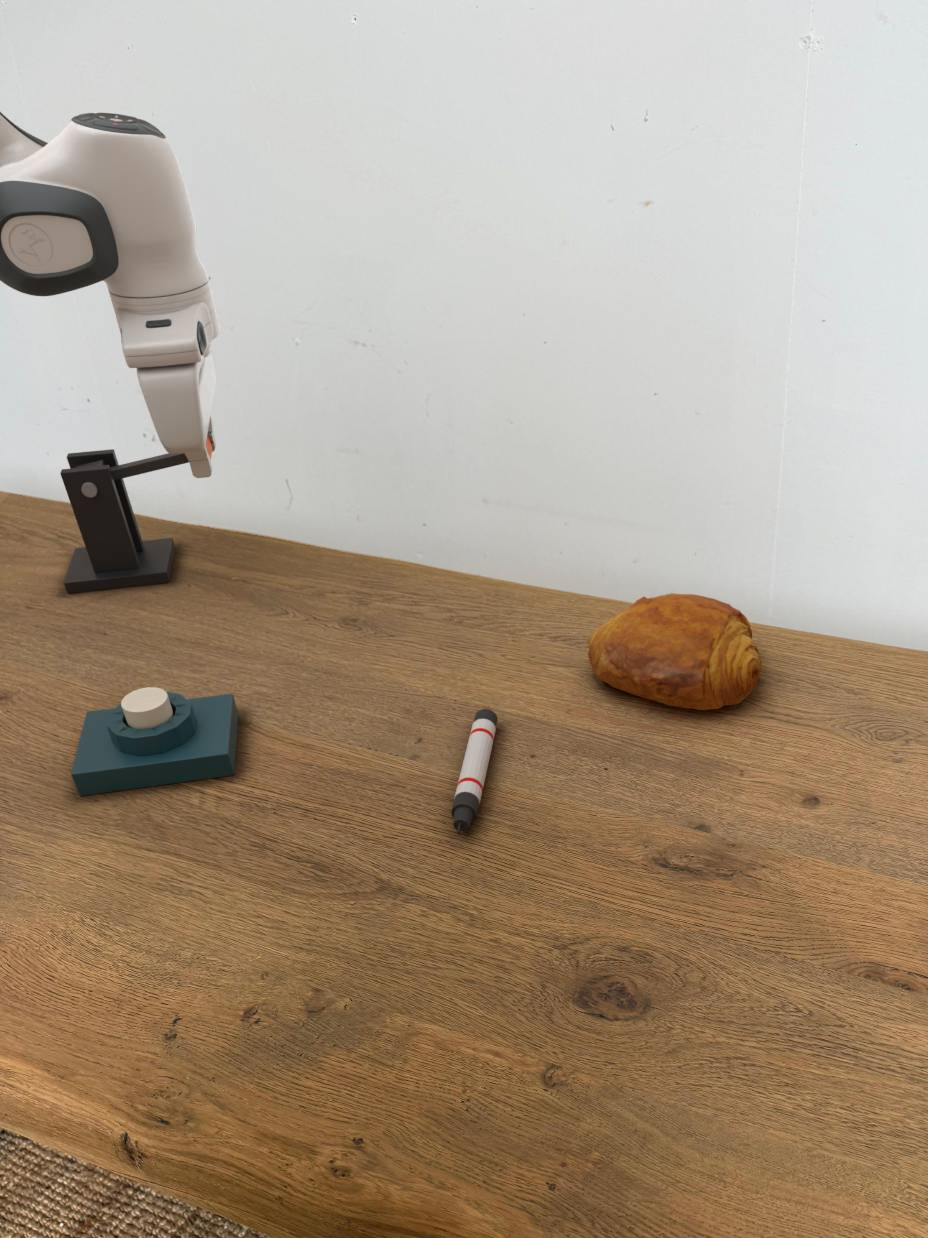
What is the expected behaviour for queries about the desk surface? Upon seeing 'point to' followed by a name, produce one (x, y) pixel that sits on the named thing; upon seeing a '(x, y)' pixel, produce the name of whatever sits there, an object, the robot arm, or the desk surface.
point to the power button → (147, 708)
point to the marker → (474, 770)
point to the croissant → (678, 652)
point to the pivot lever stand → (109, 531)
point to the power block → (157, 746)
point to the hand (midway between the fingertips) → (205, 462)
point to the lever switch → (147, 463)
